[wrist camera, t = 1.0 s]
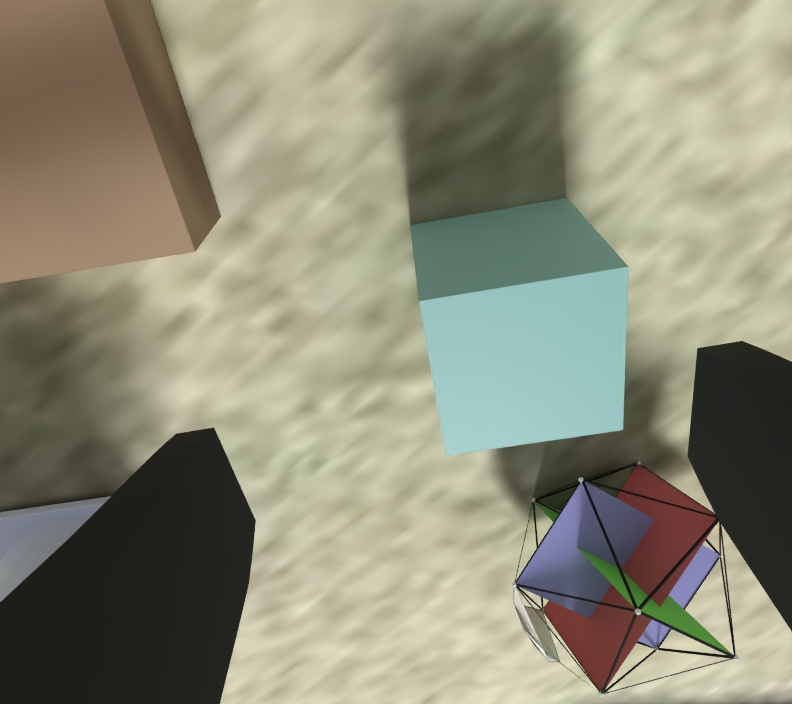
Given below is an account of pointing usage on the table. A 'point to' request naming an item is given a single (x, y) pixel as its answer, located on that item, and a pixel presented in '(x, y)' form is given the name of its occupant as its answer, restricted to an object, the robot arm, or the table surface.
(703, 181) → the table surface
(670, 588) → the geometric puzzle
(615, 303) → the teal brick
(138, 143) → the brown block
